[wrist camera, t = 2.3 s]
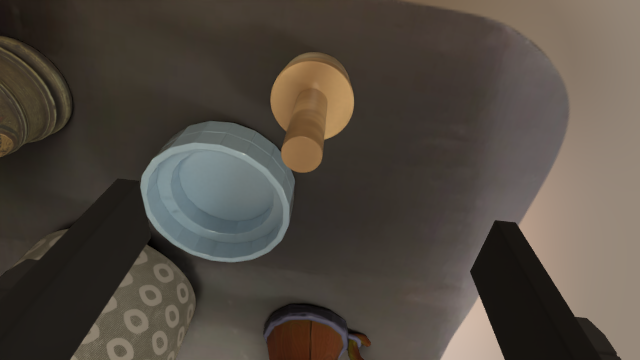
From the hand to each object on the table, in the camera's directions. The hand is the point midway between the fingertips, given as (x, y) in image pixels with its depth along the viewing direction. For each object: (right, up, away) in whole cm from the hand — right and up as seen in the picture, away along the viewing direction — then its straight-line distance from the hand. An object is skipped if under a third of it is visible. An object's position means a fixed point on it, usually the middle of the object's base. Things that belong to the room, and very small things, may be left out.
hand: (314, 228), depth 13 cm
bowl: (-9, +2, +22) cm, 24 cm away
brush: (0, +10, +16) cm, 19 cm away
